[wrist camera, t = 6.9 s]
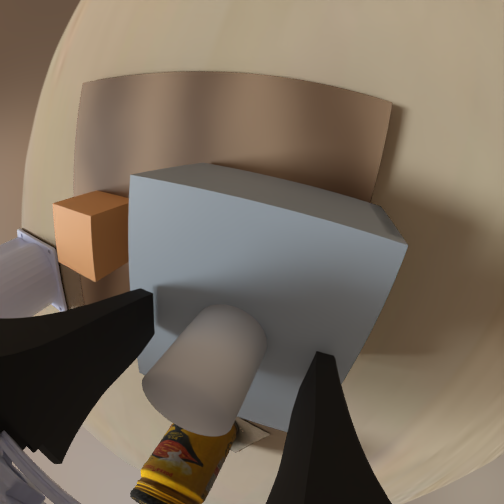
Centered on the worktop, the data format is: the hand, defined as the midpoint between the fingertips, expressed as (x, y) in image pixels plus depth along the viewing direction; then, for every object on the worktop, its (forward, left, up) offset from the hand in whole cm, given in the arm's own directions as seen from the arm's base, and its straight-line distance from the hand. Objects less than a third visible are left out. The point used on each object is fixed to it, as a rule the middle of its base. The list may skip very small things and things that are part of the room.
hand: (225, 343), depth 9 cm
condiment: (-2, -19, -7) cm, 20 cm away
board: (-6, 0, -7) cm, 9 cm away
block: (-11, 0, -6) cm, 13 cm away
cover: (0, 0, -6) cm, 6 cm away
